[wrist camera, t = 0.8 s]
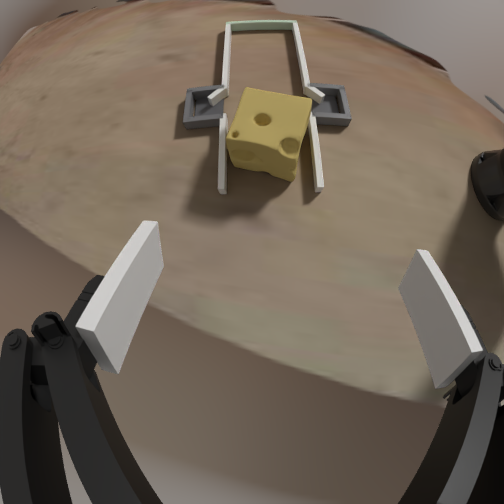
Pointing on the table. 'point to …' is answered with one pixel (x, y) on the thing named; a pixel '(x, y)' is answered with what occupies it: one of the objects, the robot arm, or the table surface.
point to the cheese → (268, 132)
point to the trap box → (321, 94)
